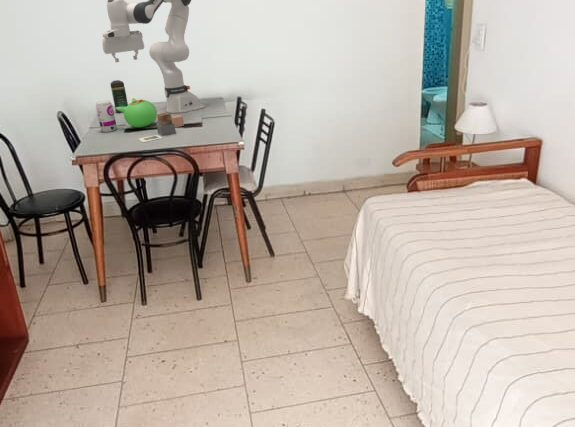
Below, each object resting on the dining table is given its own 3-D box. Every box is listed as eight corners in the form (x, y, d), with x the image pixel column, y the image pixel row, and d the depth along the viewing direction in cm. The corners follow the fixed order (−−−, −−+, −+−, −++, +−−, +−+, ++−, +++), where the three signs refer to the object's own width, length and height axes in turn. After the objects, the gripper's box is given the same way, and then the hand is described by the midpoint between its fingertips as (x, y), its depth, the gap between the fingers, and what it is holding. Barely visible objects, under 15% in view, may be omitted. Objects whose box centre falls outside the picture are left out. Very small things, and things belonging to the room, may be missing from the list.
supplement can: (120, 128, 279) (114, 100, 273) (111, 132, 272) (104, 103, 266) (107, 128, 282) (101, 100, 275) (98, 132, 275) (91, 104, 268)
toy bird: (145, 131, 269) (140, 102, 263) (118, 130, 275) (113, 102, 269) (164, 122, 284) (160, 95, 278) (138, 121, 290) (133, 95, 284)
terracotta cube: (180, 124, 278) (179, 114, 276) (184, 125, 274) (182, 116, 272) (171, 125, 276) (170, 116, 274) (175, 127, 272) (173, 118, 270)
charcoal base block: (171, 131, 266) (169, 121, 264) (175, 133, 261) (174, 123, 259) (158, 133, 263) (156, 124, 261) (162, 136, 258) (160, 126, 255)
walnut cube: (168, 122, 263) (166, 112, 261) (172, 123, 259) (170, 113, 257) (158, 124, 260) (157, 114, 258) (162, 125, 256) (161, 115, 254)
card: (157, 135, 259) (157, 134, 259) (162, 138, 253) (162, 137, 253) (137, 139, 255) (137, 138, 255) (142, 142, 249) (142, 141, 248)
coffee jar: (129, 111, 316) (123, 80, 309) (116, 113, 314) (109, 82, 307) (128, 109, 325) (122, 78, 317) (115, 110, 323) (109, 80, 315)
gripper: (139, 29, 268) (144, 57, 274) (99, 34, 259) (105, 63, 264) (143, 30, 263) (148, 58, 269) (102, 34, 254) (108, 64, 259)
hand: (126, 60), depth 267 cm, fingers open, 8 cm apart
